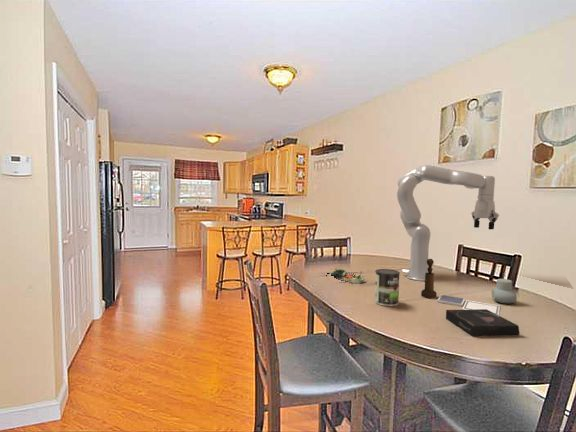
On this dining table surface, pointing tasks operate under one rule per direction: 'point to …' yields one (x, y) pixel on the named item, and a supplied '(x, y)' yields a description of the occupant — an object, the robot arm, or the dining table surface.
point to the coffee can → (387, 287)
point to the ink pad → (451, 300)
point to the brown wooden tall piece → (429, 282)
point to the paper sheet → (481, 306)
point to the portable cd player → (482, 323)
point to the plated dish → (348, 276)
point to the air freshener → (504, 292)
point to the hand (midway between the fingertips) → (483, 228)
